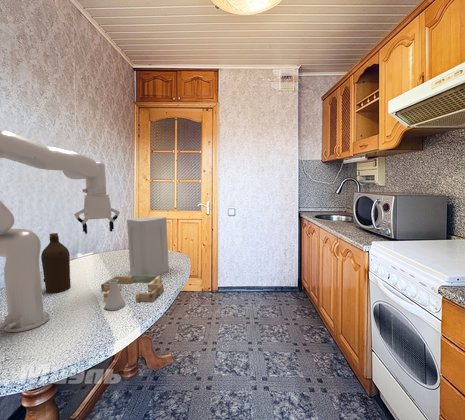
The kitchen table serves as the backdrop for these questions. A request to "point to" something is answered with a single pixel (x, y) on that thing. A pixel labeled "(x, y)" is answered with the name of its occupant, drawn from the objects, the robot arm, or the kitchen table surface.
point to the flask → (114, 297)
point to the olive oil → (56, 266)
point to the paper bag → (148, 245)
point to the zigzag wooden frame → (152, 286)
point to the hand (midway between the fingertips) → (98, 232)
